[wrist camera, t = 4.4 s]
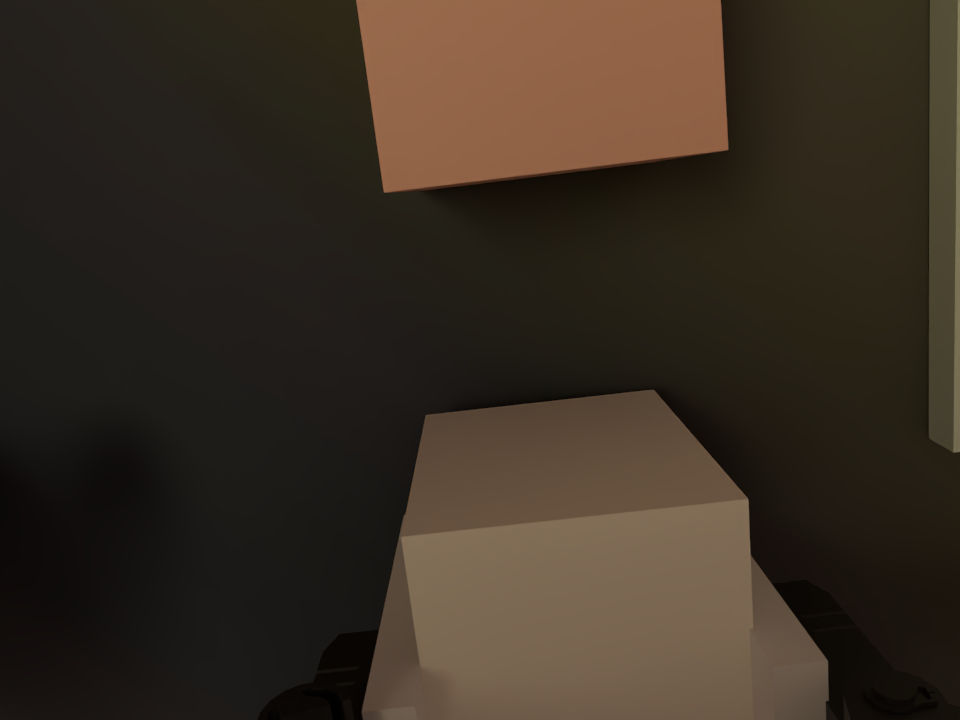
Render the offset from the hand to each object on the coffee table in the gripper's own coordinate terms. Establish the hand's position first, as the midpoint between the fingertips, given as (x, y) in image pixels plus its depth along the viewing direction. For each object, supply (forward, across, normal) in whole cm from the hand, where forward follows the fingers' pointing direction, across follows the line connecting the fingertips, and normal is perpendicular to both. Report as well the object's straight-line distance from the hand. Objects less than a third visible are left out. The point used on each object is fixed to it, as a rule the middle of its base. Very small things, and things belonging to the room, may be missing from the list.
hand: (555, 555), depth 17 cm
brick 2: (0, 0, 0) cm, 0 cm away
